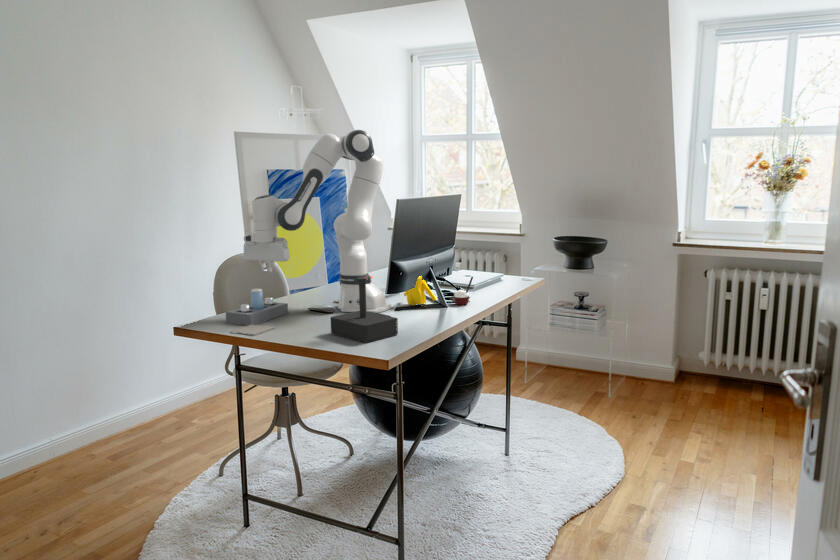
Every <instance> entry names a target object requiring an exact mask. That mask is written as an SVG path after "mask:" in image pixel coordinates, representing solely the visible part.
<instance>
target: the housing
mask: <svg viewBox="0 0 840 560" xmlns="http://www.w3.org/2000/svg"><path fill="white" fill-rule="evenodd" d="M288 304H289V303H286V302H274V301H273V306H269V305H265V300H263V305H264V308H263V309H260V310H255V309H251V304H249V310H250V313H243V312H241V307H239V308H236V309H232V310H228V311H225V322H226V323H227V322H229V323H230V324H235V323H238V325H244V324H247V325H246V326H248V325H253V324H254V325H258V324H259V323H260V324H261V323H263V322H266V321H269V320H272V319H274V318H278V317H280V316H283V315H287V314H289V308H288V307H289V305H288Z"/></svg>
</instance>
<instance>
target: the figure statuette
mask: <svg viewBox="0 0 840 560" xmlns="http://www.w3.org/2000/svg"><path fill="white" fill-rule="evenodd" d="M422 279H423V277H422V275H421V276H419V277H418V278H417V281H416V285H415V288H412V289H410V290H408V291H406V290H405V291H404V293H403V295H404V297H406V300H407V304H408V305H409V306H415V305H416V304H424V303H426V304H427V297H426V293H427V294H428V296H429V298H430V299H432V301H433V302H434V301H436V300H437V297H436V295H435V294H434V293H433V291H432V290H431V288H430V287H429V286H428V284H427V282H426V280H424V279H423V280H422ZM422 284H423V285H422ZM425 292H426V293H425Z"/></svg>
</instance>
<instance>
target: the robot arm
mask: <svg viewBox="0 0 840 560" xmlns="http://www.w3.org/2000/svg"><path fill="white" fill-rule="evenodd" d="M341 158H344V159H346V160H349V161H354V162H355V163H354V164H355V170H354V172H353V177H352V180H351V183H350V186H349V189H348V193H347V206H346V207H347V210H346V212H343V213H341V214H339V215H338V216H336V218H335V220H334V221H333V229H334V232H335V237H336V244H337V247H338V253H339V270H340V271H339V272H340V273H339V285H340V288H339V289H340V290H339V291H340V292H339V301H338V305H337V309H339V310H340V312H343V313H345V312H346V313H351V312H356V311H360V301H359V284H358V283H357V278H360V277H366V278H367V283H366V311H368V312H375V313H382V312H383V313H384V312H386V311H389V310H390V309H392V304H391V303H390V304H389V303H387V301H386V300H387V298H386V296H385V293H384V292H383V291H382V290H381V289H380V288H379V287H377V286H376V285H375V284H374V283H372V279H373V278H374V275H370V274H369V273H368V260H367V259H368V257H367V254H368V253H367V252H366V249H365V246H364V241H366V240H368V239H369V238H370V236H371V234H372V233H373V224H372V221H373V212H374V205H375V201H376V197H377V194H378V190H379V187H380V184H381V183H380V182H381V179H382V175H383V169H384V163H383V160H382V159H381V158H380V157H379V156H377V155H375V148H374V143H373V139H372V137H371V135H370V134H369V133H368V132H367V131H366V130H362V129H355V130H353V131H350V132H348V133H347V134H345V135H343V136H342V137H340V136H337V135H335V134H334V133H325V134H324V135H322V136H321V137H320V139H319V140H318V141H317V142H316V143H315V144H314V145H313V147H312V148H311V150H309V152H308V155H307V156H306V158H305V161H304V163H303V166H302V173H303V174H302V175H303V176H302V181H301V184H300V185H299V187H298V189H296V192H295V194H294V195H293V196H292V198H291V200H290V201H289V202H287V201H283V200H280V199H279V198H277V197H275V196H274V195H272V194H266V195H260V196H257V197H256V198H254V200H253V202H252V220H253V224H254V226H253V232H252V233H250V234H247V235H244V236H243V242H244V243H243V257H244V258H245V260H246V261H247V260H250V261H251V260H252V261H259V265H260V266H261V268H262V269H261V270H262V272H264V273H273V267H274V265H275V262H278V263H279V262H282V263H284V262H285V263H286V262H289V260H290V251H289V246H288V245H289V244H288V240H287V239H286V238H285V237H278V230H277V229H278V227H281V228H282V229H283V230H285V231H289V232H291V231H297V230H298V229H300V228H301V227H302V226H303V225H304V222H305V219H306V211H307V208H308V206H309V205H310V203H311V202H312V199H313V198H314V196H315V194H316V192H317V191H318V189H319V187H320V186H321V185H322V184H323V183H324V182H325V180H326V179H327V178H328V177H329V175H330V174H331V172H332V171H333V169H334V168H335V167H336V165H337V163H338V162H339V160H340V159H341ZM266 262H268V266H267V265H266Z"/></svg>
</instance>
